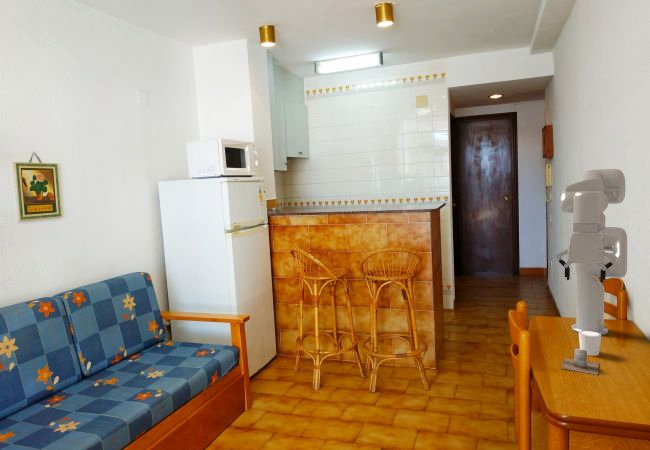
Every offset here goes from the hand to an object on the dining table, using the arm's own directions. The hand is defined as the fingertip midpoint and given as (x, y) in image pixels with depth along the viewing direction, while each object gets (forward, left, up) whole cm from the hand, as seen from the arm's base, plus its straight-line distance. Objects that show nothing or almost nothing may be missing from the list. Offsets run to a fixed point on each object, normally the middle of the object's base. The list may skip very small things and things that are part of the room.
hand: (584, 280), depth 150 cm
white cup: (-8, +2, -27) cm, 28 cm away
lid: (+7, 0, -27) cm, 28 cm away
